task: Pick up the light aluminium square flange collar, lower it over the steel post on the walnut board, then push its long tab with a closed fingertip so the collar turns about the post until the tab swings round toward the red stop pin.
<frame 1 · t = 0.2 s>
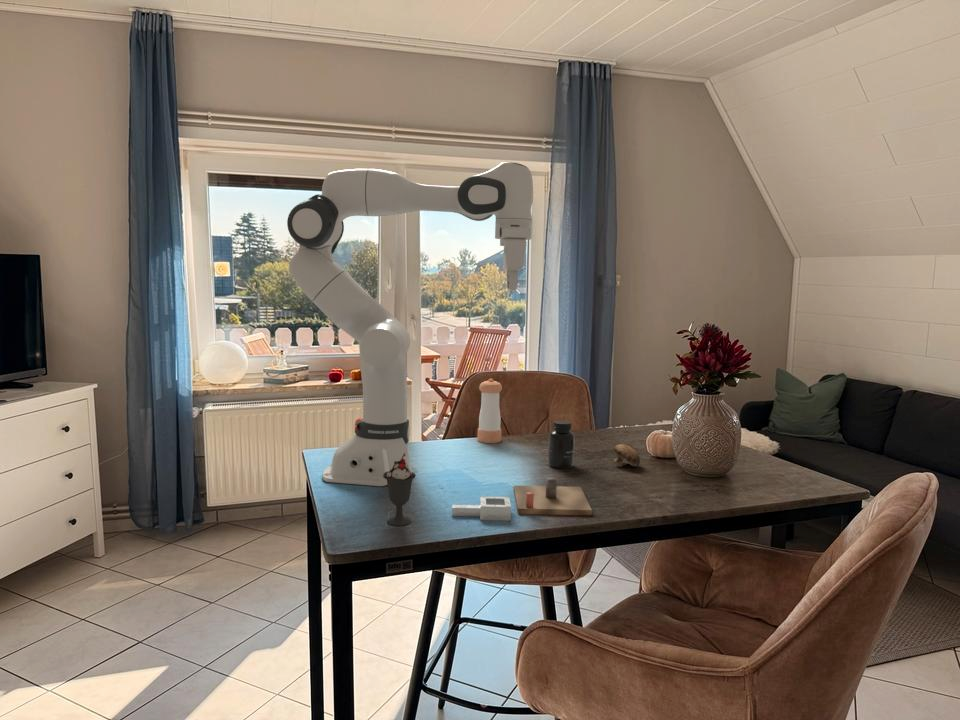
hand: (511, 289, 170), 47 cm above the table, tool pointing down, fingers open, 8 cm apart
mushroom: (626, 466, 190), on the table
post base: (550, 502, 159), on the table
sundae: (399, 522, 145), on the table
dowel pin: (529, 512, 152), resting on post base
supplement bottle: (560, 466, 189), on the table
pepper shaker: (489, 440, 215), on the table
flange: (466, 514, 150), on the table
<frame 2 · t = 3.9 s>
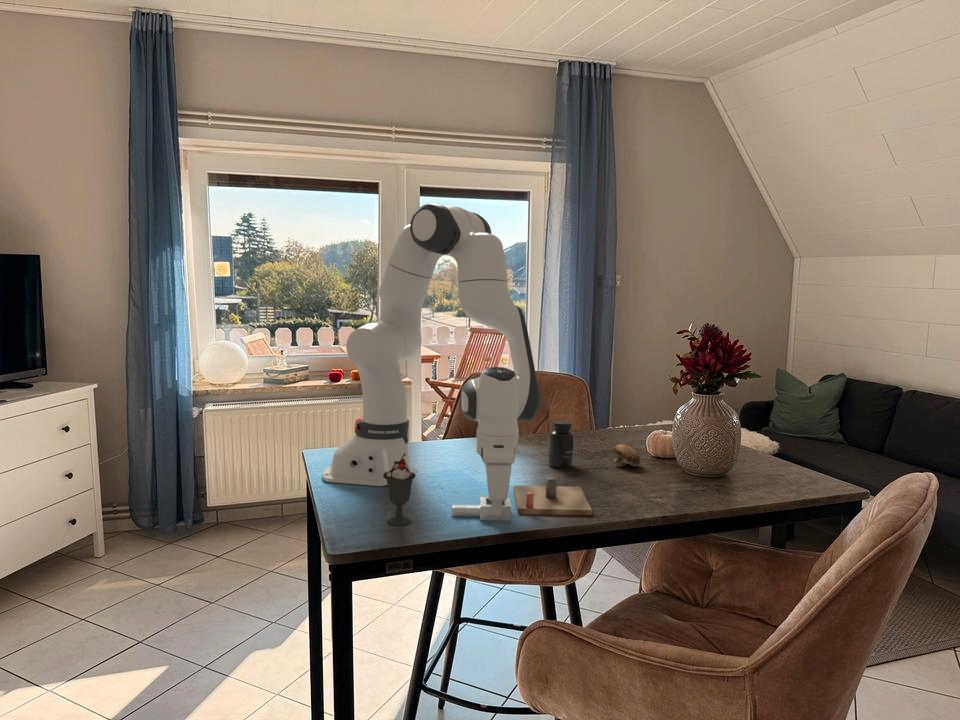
hand: (495, 507, 150), 2 cm above the table, tool pointing down, fingers closed on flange, 6 cm apart
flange: (466, 514, 150), on the table, touching gripper
everything else where it was.
when the fingers open (3 cm above the table, at t = 9.4 s): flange stays where it is, resting on post base.
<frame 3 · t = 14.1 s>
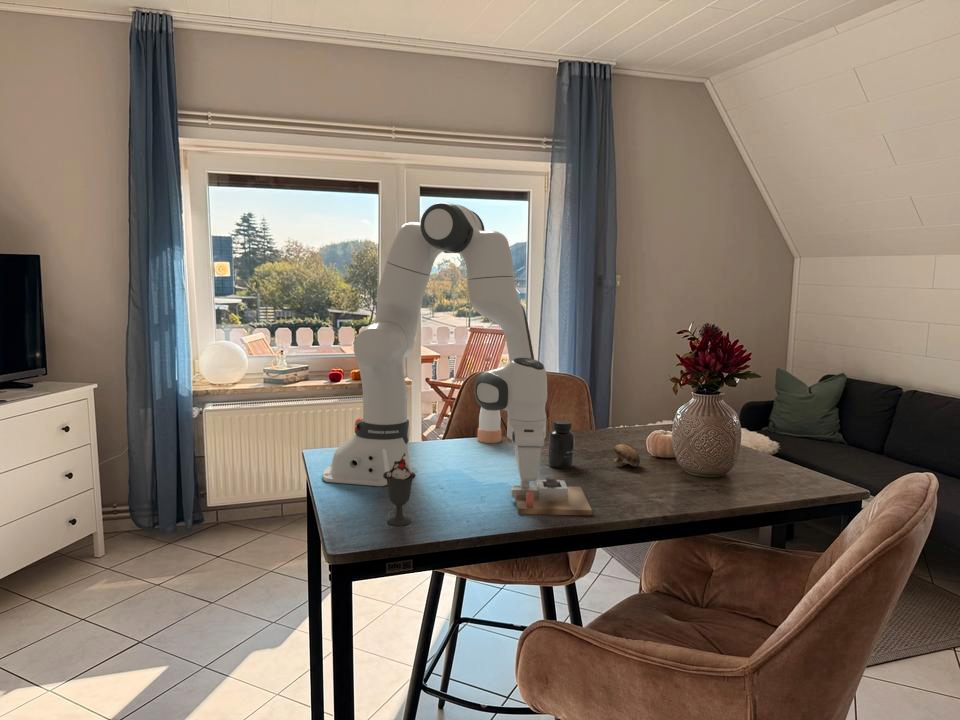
hand: (524, 488, 161), 2 cm above the table, tool pointing down, fingers closed
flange: (524, 496, 159), point 1 cm above the table, touching gripper, post base
everything else where it was.
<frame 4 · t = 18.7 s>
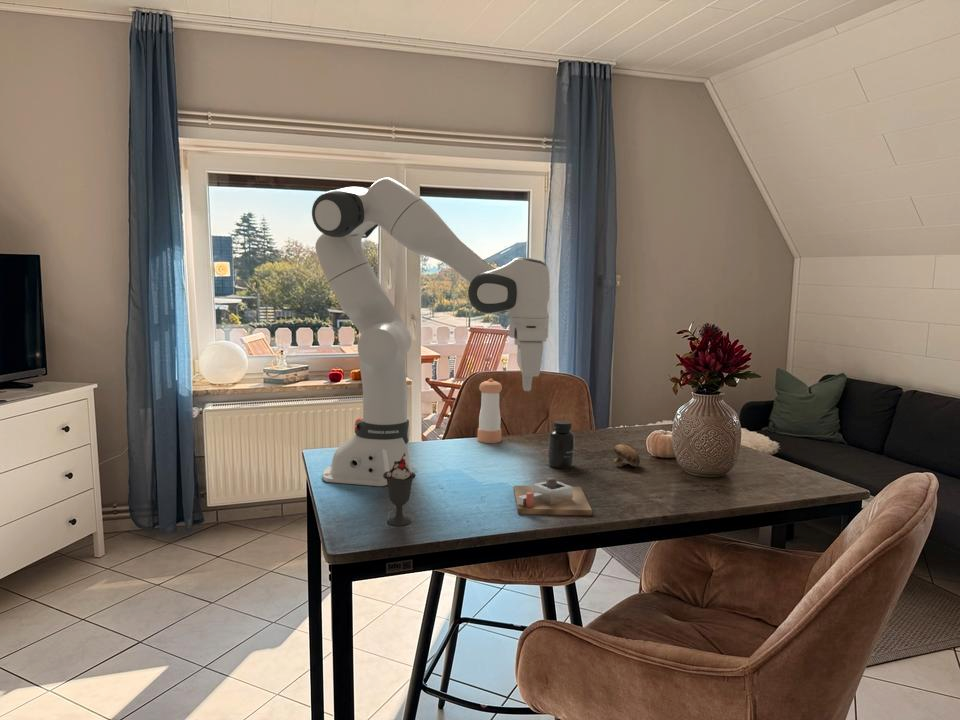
hand: (526, 390, 160), 25 cm above the table, tool pointing down, fingers closed
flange: (530, 503, 155), point 1 cm above the table, touching dowel pin, post base
everything else where it was.
at the end: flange 0.7 cm from the target spot, point 1.2 cm above the table; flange 6.5 cm from the post base (horizontally); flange tilted 0° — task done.
